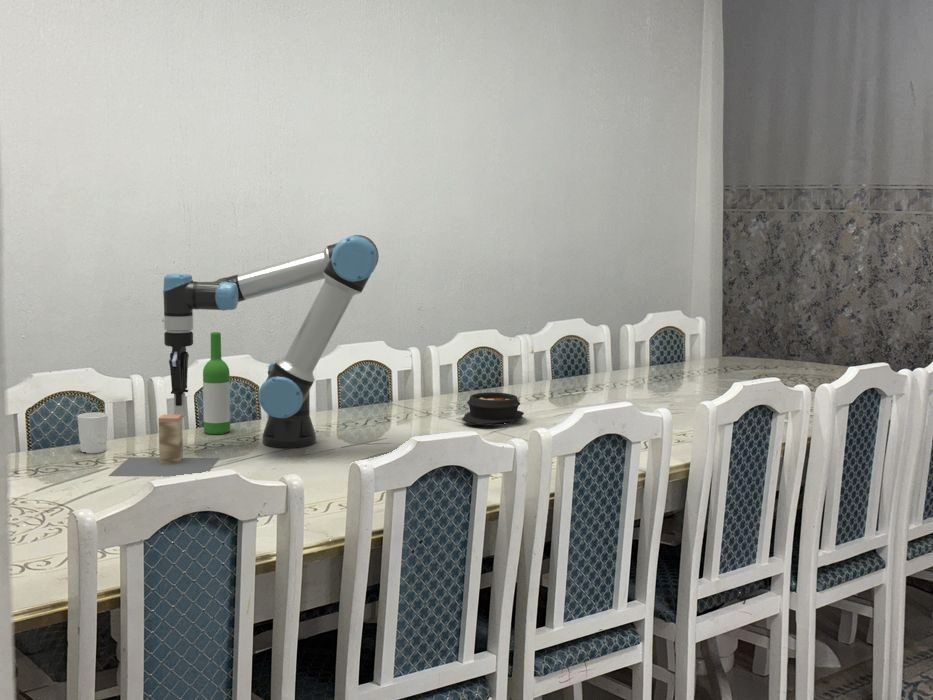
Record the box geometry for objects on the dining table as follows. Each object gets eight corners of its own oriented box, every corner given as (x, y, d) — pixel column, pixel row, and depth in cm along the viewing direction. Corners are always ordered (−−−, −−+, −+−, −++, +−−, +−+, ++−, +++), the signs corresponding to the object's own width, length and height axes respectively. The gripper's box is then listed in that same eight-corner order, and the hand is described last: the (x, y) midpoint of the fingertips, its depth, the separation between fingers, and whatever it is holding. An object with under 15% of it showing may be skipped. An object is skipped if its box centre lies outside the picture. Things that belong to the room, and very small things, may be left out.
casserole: (499, 432, 331) (499, 405, 330) (447, 425, 340) (448, 398, 339) (537, 419, 352) (537, 393, 351) (487, 412, 361) (488, 387, 360)
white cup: (74, 450, 298) (73, 414, 297) (102, 446, 303) (101, 411, 302) (84, 455, 292) (83, 419, 291) (113, 451, 297) (112, 415, 296)
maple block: (182, 458, 288) (182, 414, 287) (178, 463, 283) (177, 418, 282) (163, 458, 288) (163, 414, 286) (159, 463, 283) (158, 418, 281)
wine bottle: (211, 436, 318) (209, 334, 314) (199, 431, 324) (197, 332, 320) (235, 433, 323) (233, 333, 319) (222, 428, 329) (221, 330, 325)
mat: (220, 459, 290) (220, 457, 290) (205, 478, 270) (205, 476, 270) (129, 458, 289) (129, 457, 289) (108, 477, 269) (108, 476, 269)
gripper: (170, 328, 299) (171, 411, 302) (158, 333, 286) (160, 421, 289) (197, 328, 299) (198, 412, 303) (187, 334, 286) (188, 421, 290)
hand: (180, 416), depth 296 cm, fingers closed
